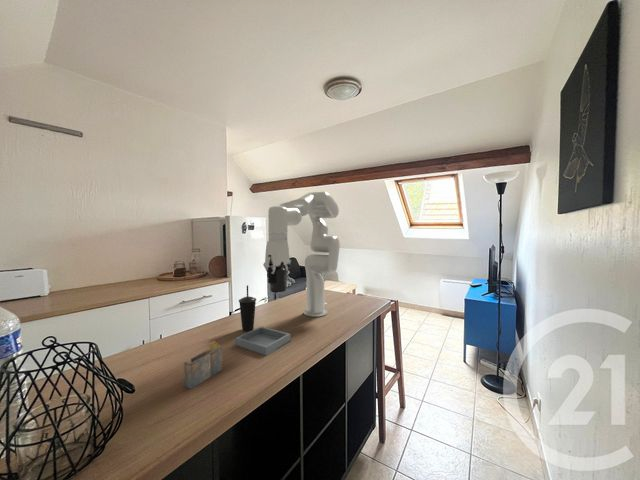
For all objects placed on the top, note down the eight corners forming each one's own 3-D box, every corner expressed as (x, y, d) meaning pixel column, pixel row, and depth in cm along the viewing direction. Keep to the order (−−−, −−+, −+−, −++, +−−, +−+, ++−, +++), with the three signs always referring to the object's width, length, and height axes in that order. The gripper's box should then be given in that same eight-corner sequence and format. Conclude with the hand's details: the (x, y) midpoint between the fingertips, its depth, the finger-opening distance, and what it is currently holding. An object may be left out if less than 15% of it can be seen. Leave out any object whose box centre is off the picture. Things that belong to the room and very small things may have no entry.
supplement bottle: (279, 288, 109) (279, 259, 109) (290, 290, 105) (290, 261, 104) (266, 290, 104) (266, 261, 104) (276, 293, 100) (276, 262, 99)
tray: (261, 333, 113) (261, 326, 113) (290, 341, 105) (290, 333, 105) (235, 345, 101) (235, 337, 101) (266, 355, 93) (266, 347, 93)
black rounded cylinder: (252, 333, 113) (251, 287, 112) (235, 332, 114) (235, 287, 113) (259, 327, 120) (259, 284, 119) (244, 325, 122) (243, 283, 121)
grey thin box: (215, 368, 85) (214, 339, 85) (221, 370, 84) (221, 341, 83) (183, 387, 75) (183, 354, 75) (191, 390, 74) (190, 356, 73)
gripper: (283, 237, 113) (283, 277, 114) (255, 237, 98) (255, 284, 99) (298, 237, 110) (298, 279, 110) (270, 238, 95) (271, 286, 95)
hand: (278, 281), depth 104 cm, fingers closed on supplement bottle, 6 cm apart
